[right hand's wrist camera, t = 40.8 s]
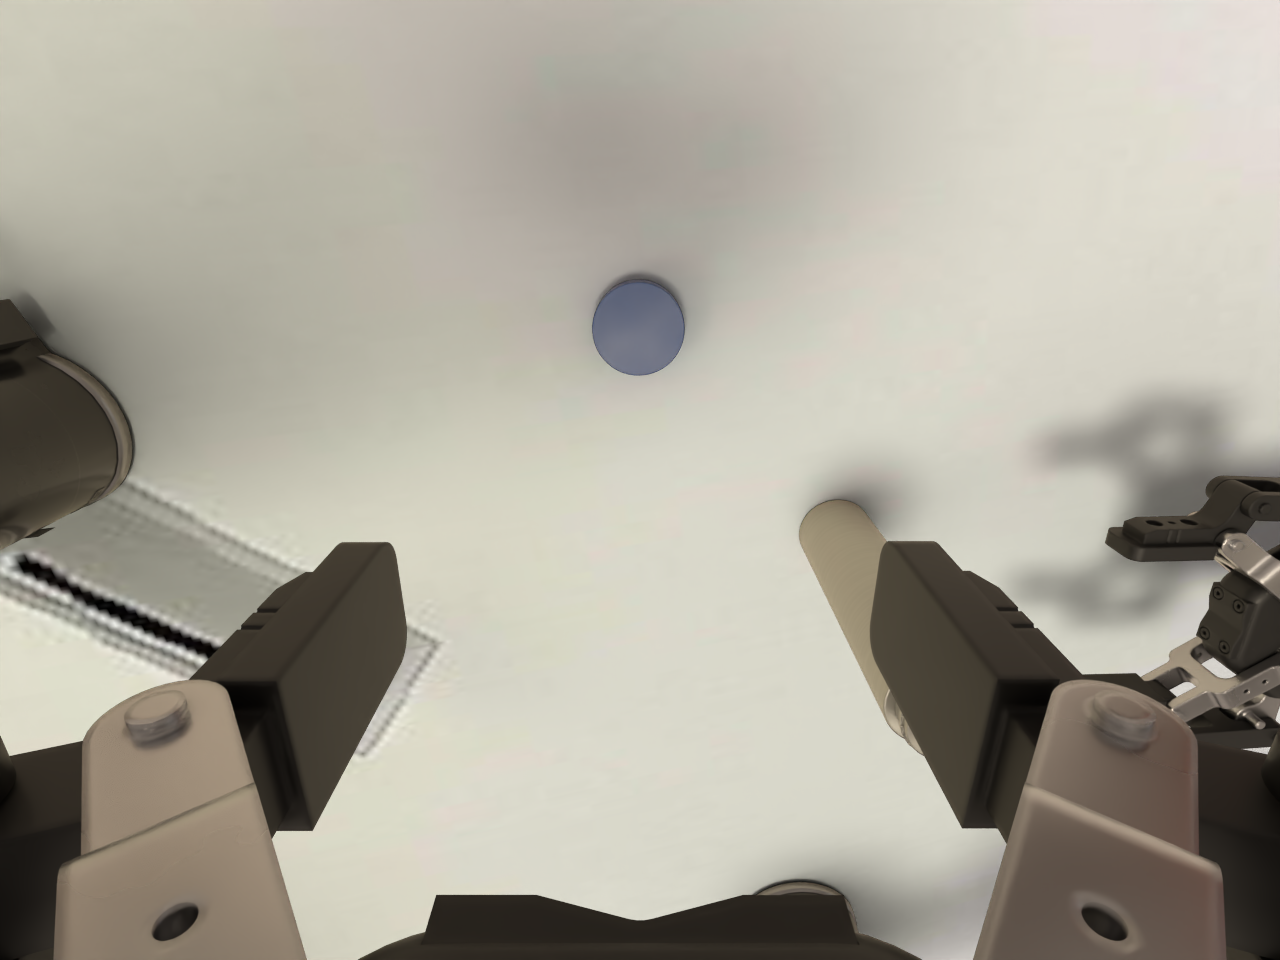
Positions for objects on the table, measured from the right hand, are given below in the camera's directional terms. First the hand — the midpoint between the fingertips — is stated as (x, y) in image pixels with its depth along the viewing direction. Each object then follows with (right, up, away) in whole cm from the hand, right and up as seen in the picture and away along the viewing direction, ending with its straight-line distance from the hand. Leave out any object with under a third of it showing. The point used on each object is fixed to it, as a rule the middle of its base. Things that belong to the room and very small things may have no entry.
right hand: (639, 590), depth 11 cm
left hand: (+22, -5, +22) cm, 32 cm away
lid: (0, +10, +25) cm, 27 cm away
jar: (+12, -1, +30) cm, 33 cm away
